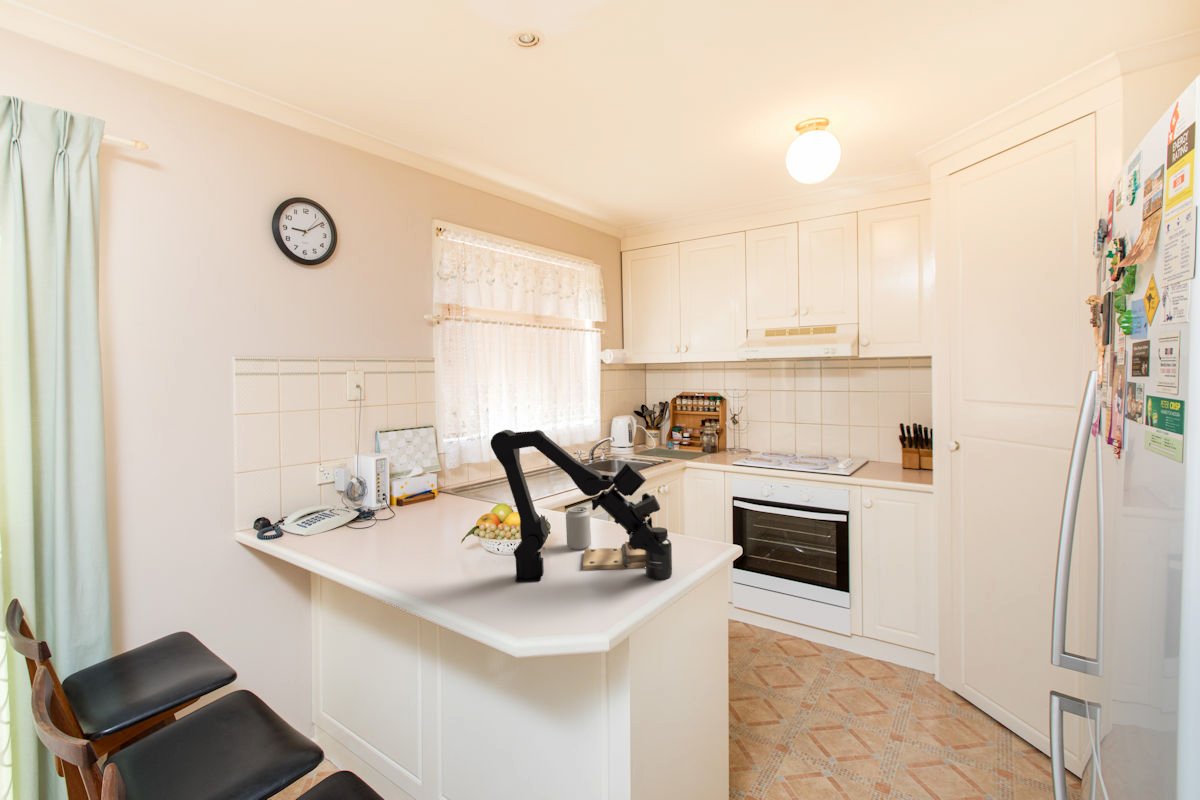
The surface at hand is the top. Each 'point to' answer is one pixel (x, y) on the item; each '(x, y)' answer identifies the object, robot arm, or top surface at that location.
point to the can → (578, 528)
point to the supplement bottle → (659, 557)
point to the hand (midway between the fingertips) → (663, 550)
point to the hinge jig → (614, 558)
